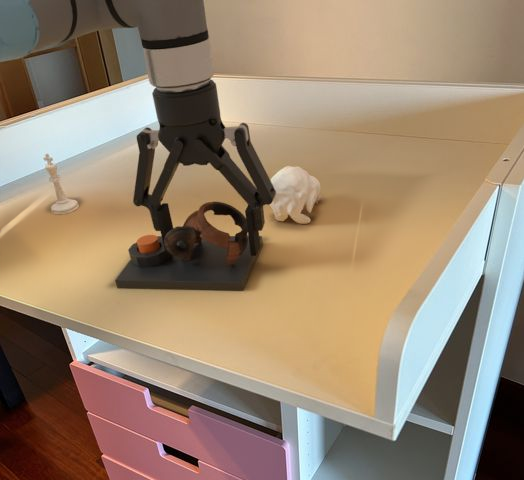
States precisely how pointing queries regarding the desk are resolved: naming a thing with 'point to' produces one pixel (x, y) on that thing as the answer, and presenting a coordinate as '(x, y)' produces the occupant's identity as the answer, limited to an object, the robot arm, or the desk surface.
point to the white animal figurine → (294, 194)
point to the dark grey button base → (187, 269)
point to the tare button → (148, 244)
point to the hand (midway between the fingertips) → (213, 250)
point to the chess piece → (59, 191)
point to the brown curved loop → (208, 233)
